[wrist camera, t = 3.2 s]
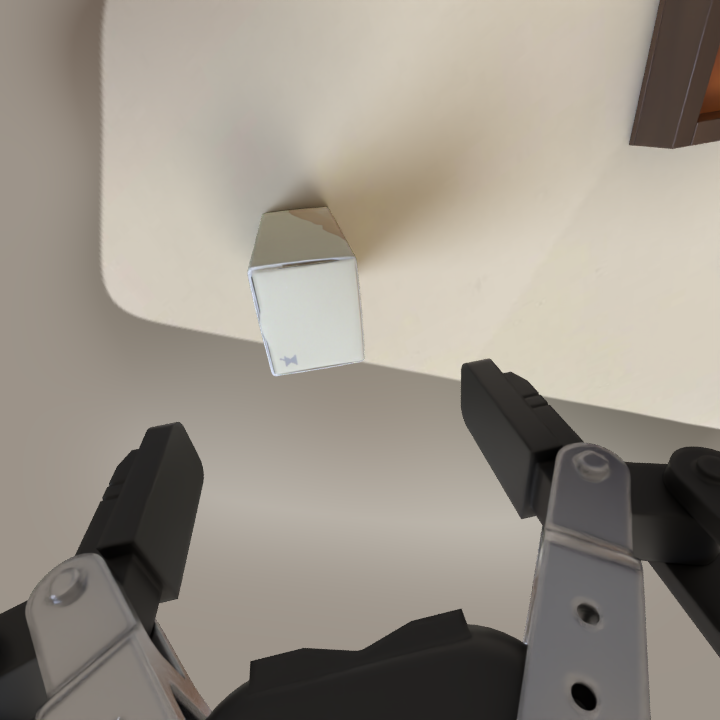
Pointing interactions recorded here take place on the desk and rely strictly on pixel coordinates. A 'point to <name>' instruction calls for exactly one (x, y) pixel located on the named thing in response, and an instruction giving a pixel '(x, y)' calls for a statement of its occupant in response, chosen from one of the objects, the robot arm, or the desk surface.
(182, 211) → the desk surface
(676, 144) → the box
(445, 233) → the desk surface
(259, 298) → the box
